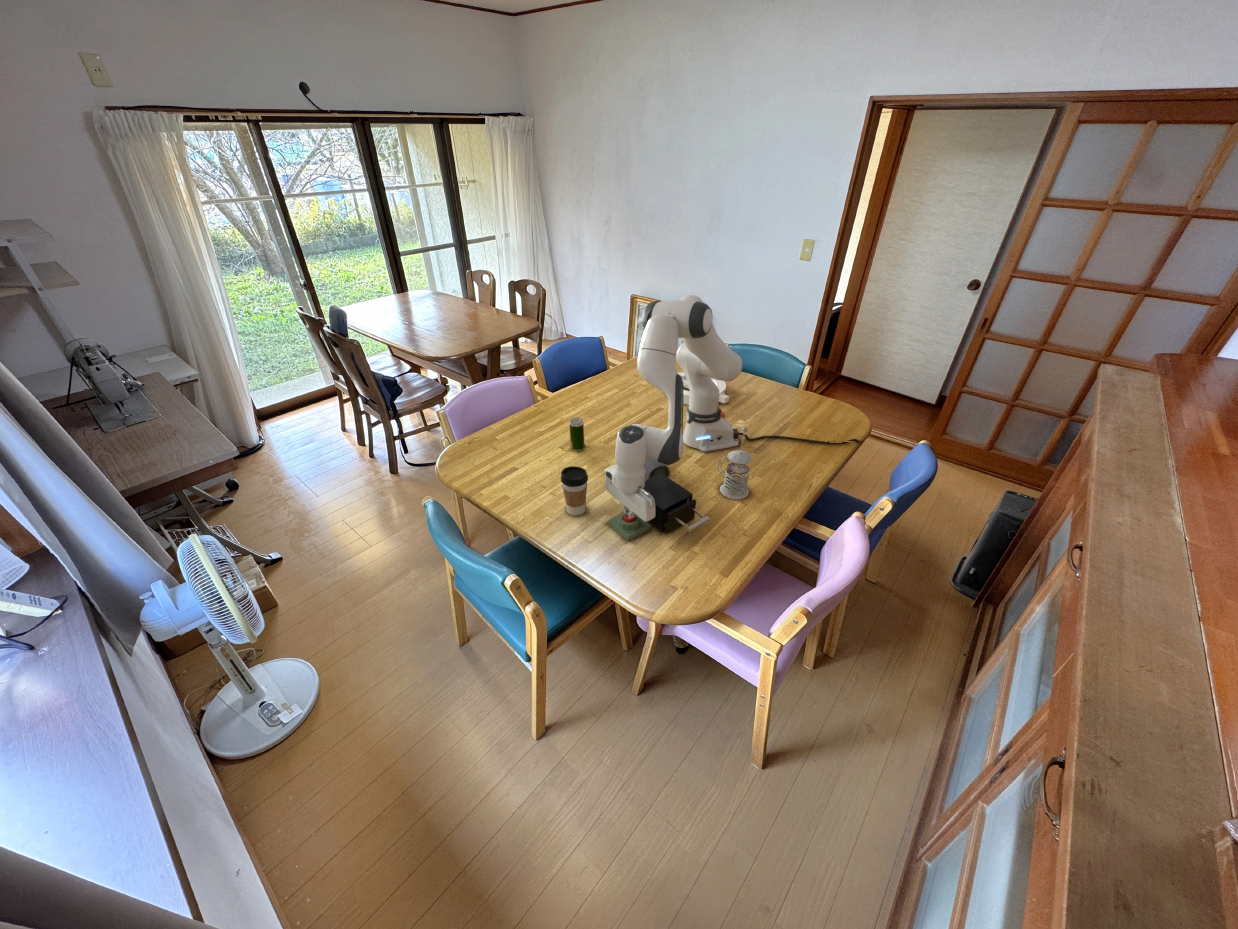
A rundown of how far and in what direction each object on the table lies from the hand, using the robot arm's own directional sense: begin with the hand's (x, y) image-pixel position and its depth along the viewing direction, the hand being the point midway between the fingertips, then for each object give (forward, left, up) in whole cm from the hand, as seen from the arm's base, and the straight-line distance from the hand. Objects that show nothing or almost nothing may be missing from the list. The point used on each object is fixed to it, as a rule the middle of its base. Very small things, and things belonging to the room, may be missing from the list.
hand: (629, 516), depth 148 cm
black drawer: (-14, 0, -3) cm, 15 cm away
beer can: (+13, -48, -4) cm, 50 cm away
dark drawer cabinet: (-11, -5, -4) cm, 13 cm away
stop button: (0, 0, -2) cm, 2 cm away
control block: (0, 0, -4) cm, 4 cm away
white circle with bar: (-46, -91, -4) cm, 102 cm away
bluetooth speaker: (-10, -29, -4) cm, 31 cm away
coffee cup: (+16, -10, -4) cm, 19 cm away
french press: (-38, -14, -4) cm, 41 cm away
